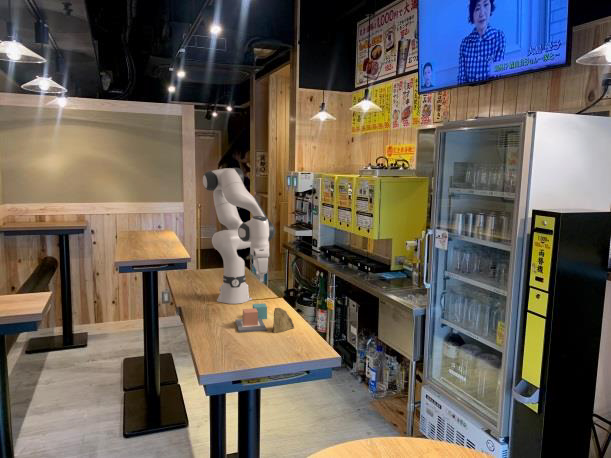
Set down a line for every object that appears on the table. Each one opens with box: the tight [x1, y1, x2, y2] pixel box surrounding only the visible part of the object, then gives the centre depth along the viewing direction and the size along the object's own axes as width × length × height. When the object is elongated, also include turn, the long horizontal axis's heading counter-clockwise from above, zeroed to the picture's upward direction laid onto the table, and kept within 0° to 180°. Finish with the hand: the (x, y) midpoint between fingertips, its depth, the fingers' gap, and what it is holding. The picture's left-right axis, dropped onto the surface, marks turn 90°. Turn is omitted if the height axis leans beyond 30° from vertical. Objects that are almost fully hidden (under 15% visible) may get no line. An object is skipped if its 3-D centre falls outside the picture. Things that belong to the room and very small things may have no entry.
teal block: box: [252, 303, 268, 320], centre depth 220 cm, size 6×6×6 cm
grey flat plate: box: [235, 318, 267, 334], centre depth 207 cm, size 16×12×1 cm
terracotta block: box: [242, 307, 258, 326], centre depth 207 cm, size 6×6×6 cm
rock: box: [272, 307, 295, 334], centre depth 202 cm, size 11×9×10 cm
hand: (259, 279), depth 218 cm, fingers open, 8 cm apart
